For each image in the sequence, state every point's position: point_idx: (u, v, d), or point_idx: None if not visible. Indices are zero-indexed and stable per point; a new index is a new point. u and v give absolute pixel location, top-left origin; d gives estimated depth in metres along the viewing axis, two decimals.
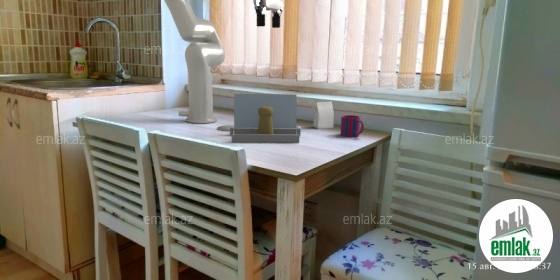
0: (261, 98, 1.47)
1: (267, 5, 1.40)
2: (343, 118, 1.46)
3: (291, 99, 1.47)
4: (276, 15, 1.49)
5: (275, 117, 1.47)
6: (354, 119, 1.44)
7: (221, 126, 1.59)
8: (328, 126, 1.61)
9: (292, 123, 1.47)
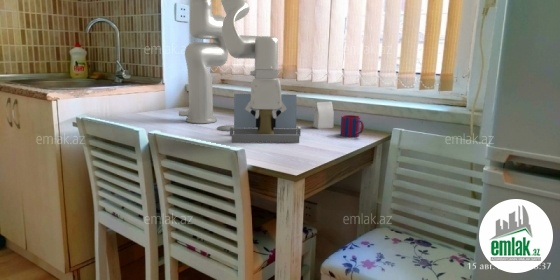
0: None
1: None
2: (343, 118, 1.46)
3: (291, 99, 1.47)
4: None
5: None
6: (354, 119, 1.44)
7: (221, 126, 1.59)
8: (328, 126, 1.61)
9: (292, 123, 1.47)
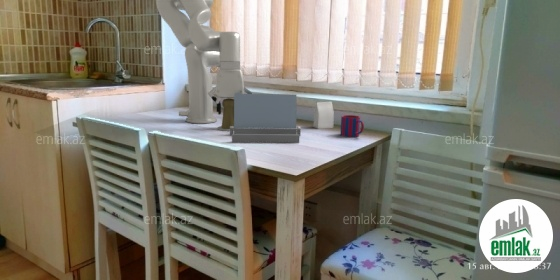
0: (261, 98, 1.47)
1: None
2: (343, 118, 1.46)
3: (291, 99, 1.47)
4: None
5: (275, 117, 1.47)
6: (354, 119, 1.44)
7: (221, 126, 1.59)
8: (328, 126, 1.61)
9: (292, 123, 1.47)
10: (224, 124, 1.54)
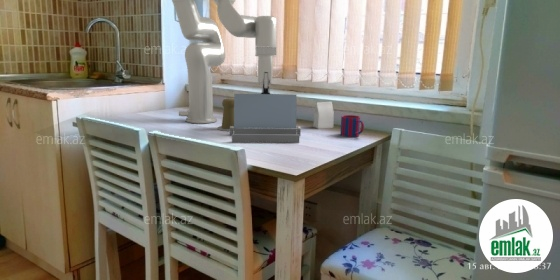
0: (261, 98, 1.47)
1: (271, 82, 1.45)
2: (343, 118, 1.46)
3: (291, 99, 1.47)
4: None
5: (275, 117, 1.47)
6: (354, 119, 1.44)
7: (221, 126, 1.59)
8: (328, 126, 1.61)
9: (292, 123, 1.47)
10: (224, 124, 1.54)
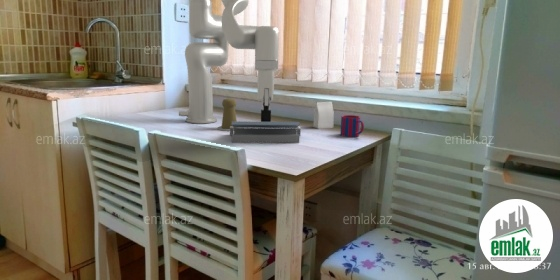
0: (261, 125, 1.36)
1: (272, 99, 1.32)
2: (343, 118, 1.46)
3: (293, 125, 1.37)
4: None
5: None
6: (354, 119, 1.44)
7: (221, 126, 1.59)
8: (328, 126, 1.61)
9: (292, 127, 1.45)
10: (224, 124, 1.54)
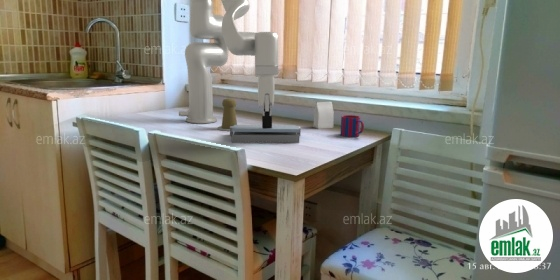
0: None
1: (273, 104, 1.31)
2: (343, 118, 1.46)
3: None
4: None
5: None
6: (354, 119, 1.44)
7: (221, 126, 1.59)
8: (328, 126, 1.61)
9: None
10: (224, 124, 1.54)
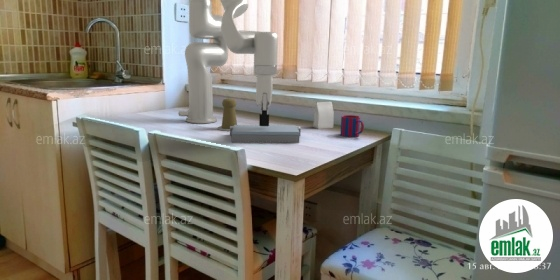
0: None
1: (270, 103, 1.34)
2: (343, 118, 1.46)
3: None
4: None
5: None
6: (354, 119, 1.44)
7: (221, 126, 1.59)
8: (328, 126, 1.61)
9: None
10: (224, 124, 1.54)
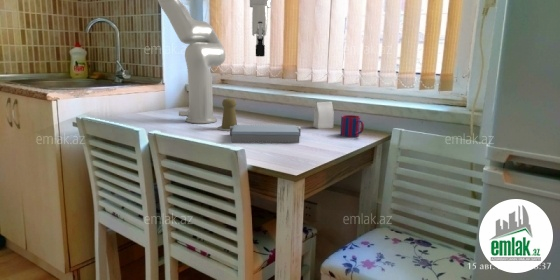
0: None
1: None
2: (343, 118, 1.46)
3: None
4: None
5: None
6: (354, 119, 1.44)
7: (221, 126, 1.59)
8: (328, 126, 1.61)
9: None
10: (224, 124, 1.54)
